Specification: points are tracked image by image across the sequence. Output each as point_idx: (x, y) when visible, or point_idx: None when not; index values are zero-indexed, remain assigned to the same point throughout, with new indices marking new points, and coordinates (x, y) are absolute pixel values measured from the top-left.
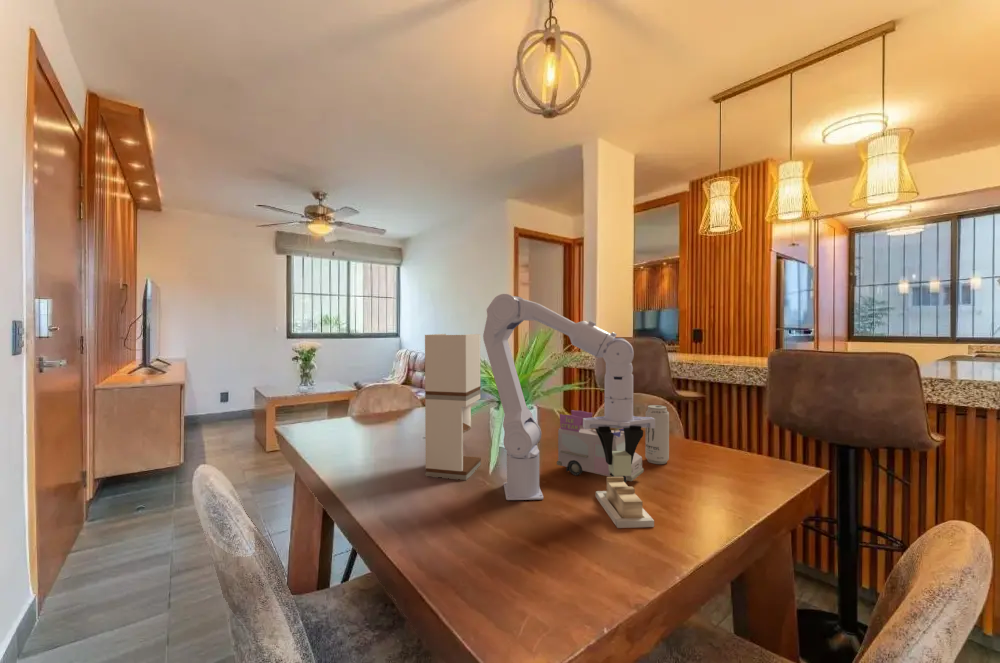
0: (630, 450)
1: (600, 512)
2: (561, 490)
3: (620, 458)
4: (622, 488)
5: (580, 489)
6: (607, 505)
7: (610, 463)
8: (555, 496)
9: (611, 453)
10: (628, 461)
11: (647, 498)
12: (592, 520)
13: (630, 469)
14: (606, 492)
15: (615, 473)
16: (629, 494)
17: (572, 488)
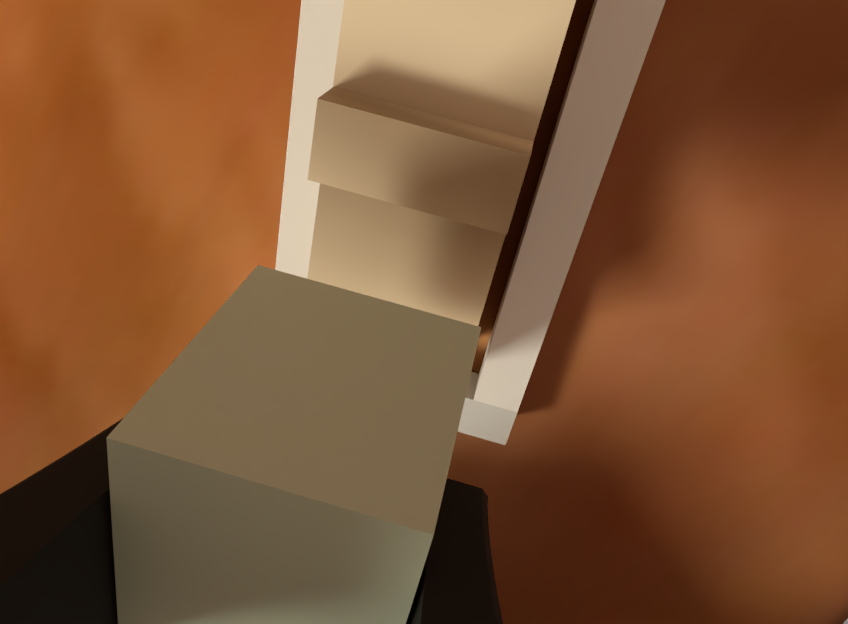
0: (47, 545)
1: (648, 180)
2: (682, 572)
3: (324, 462)
4: (449, 162)
5: (542, 538)
6: (579, 195)
7: (463, 493)
8: (795, 520)
9: (434, 617)
10: (207, 385)
11: (152, 271)
12: (834, 58)
13: (231, 308)
14: None
15: (458, 338)
16: (408, 74)
17: (586, 567)
